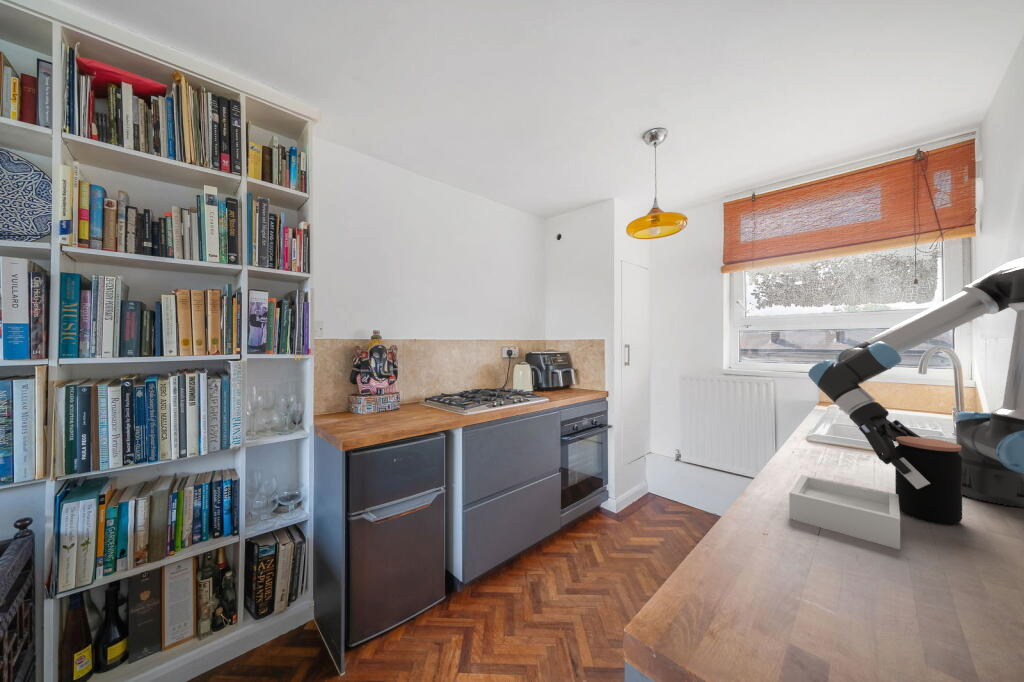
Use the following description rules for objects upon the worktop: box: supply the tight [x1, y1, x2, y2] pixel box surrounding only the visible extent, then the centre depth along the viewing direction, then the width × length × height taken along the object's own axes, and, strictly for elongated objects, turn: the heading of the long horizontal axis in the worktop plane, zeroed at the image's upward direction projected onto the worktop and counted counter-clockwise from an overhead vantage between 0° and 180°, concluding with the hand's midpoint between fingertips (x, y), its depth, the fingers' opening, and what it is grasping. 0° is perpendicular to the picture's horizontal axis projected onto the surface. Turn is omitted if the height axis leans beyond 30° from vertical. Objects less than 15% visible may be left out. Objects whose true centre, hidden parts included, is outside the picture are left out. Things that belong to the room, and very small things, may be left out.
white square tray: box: [788, 474, 901, 550], centre depth 86 cm, size 18×18×6 cm
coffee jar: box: [894, 436, 963, 526], centre depth 89 cm, size 11×11×18 cm
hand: (940, 483), depth 87 cm, fingers open, 13 cm apart
